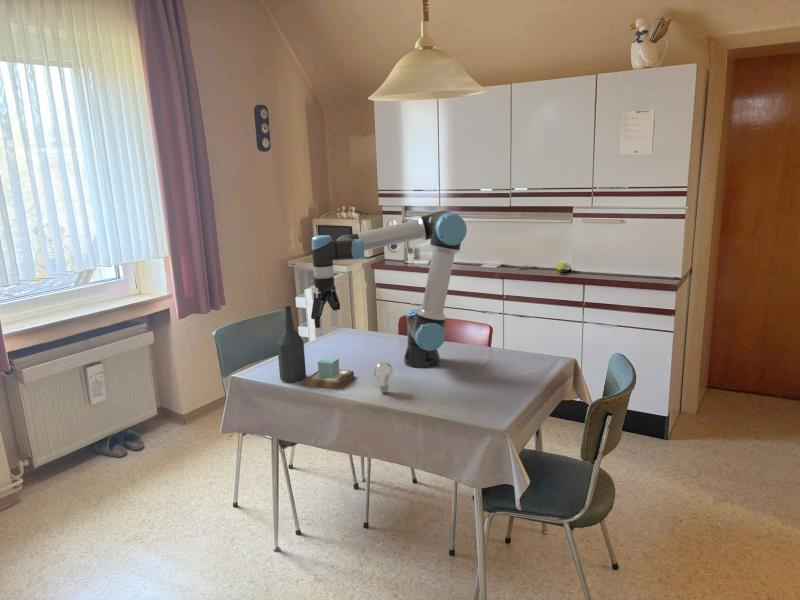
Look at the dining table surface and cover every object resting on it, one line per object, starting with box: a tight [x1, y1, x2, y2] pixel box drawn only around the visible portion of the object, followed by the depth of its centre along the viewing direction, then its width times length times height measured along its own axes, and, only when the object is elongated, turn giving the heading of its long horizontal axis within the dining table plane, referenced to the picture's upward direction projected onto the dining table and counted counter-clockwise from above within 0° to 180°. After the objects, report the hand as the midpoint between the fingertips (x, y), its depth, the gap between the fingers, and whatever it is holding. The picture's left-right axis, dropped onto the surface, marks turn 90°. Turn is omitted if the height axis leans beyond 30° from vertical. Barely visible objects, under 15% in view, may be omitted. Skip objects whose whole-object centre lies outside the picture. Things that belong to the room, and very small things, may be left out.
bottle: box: [276, 304, 307, 383], centre depth 241 cm, size 10×10×30 cm
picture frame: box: [305, 369, 355, 390], centre depth 240 cm, size 14×14×3 cm
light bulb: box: [373, 361, 394, 394], centre depth 225 cm, size 7×7×12 cm
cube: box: [317, 357, 340, 378], centre depth 239 cm, size 6×6×6 cm
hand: (327, 330), depth 236 cm, fingers open, 13 cm apart
